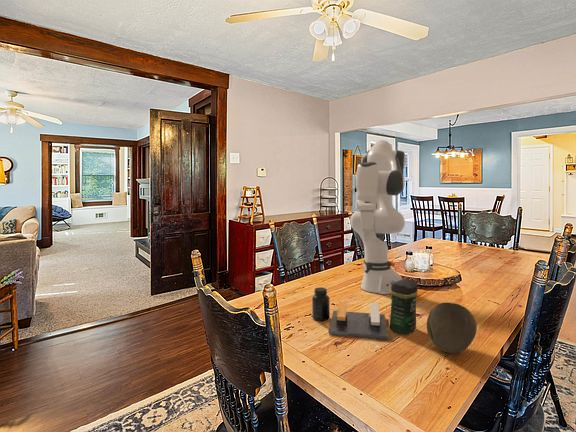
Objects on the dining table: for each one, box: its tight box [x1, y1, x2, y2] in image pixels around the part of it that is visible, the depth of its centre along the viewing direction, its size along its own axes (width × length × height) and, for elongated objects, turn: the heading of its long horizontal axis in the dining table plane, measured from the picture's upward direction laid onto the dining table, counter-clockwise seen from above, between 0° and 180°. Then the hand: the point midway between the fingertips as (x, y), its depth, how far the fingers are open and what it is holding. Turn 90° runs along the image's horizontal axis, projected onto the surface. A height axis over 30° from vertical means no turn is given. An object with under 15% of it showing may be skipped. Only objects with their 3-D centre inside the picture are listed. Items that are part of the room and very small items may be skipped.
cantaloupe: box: [426, 301, 478, 354], centre depth 104 cm, size 14×14×15 cm
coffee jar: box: [389, 277, 418, 336], centre depth 118 cm, size 10×8×19 cm
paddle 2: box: [369, 302, 381, 326], centre depth 120 cm, size 10×4×2 cm, turn 167°
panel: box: [328, 310, 389, 341], centre depth 122 cm, size 18×20×3 cm
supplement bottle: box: [311, 287, 331, 323], centre depth 129 cm, size 7×7×12 cm
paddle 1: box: [336, 301, 348, 321], centre depth 123 cm, size 10×4×2 cm, turn 167°
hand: (366, 239), depth 129 cm, fingers open, 8 cm apart
